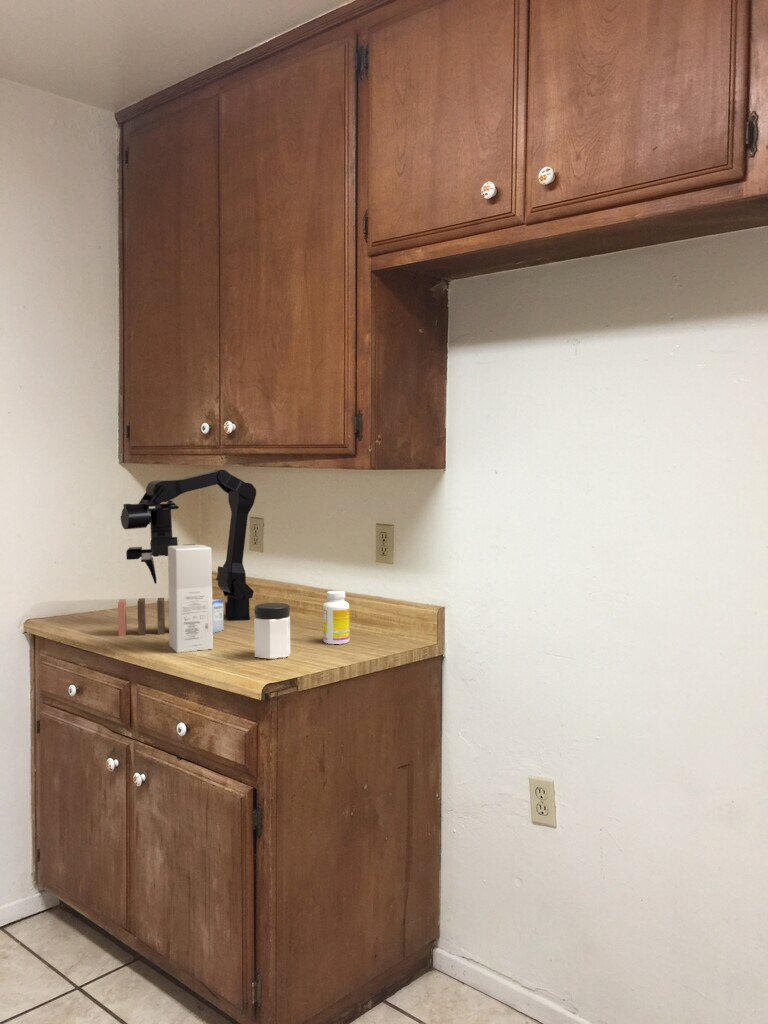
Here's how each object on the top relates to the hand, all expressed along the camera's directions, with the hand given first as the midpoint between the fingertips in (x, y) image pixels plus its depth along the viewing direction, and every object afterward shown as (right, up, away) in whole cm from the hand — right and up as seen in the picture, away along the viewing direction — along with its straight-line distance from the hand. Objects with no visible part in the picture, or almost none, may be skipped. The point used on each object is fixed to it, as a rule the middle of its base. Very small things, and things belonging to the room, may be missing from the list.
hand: (163, 582), depth 241 cm
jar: (+34, -15, -34) cm, 51 cm away
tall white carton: (+13, -14, -25) cm, 32 cm away
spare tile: (-9, -13, -9) cm, 18 cm away
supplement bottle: (+48, -14, -19) cm, 54 cm away
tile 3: (-4, -13, -7) cm, 15 cm away
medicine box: (+13, -13, -4) cm, 18 cm away
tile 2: (+1, -13, -6) cm, 14 cm away
